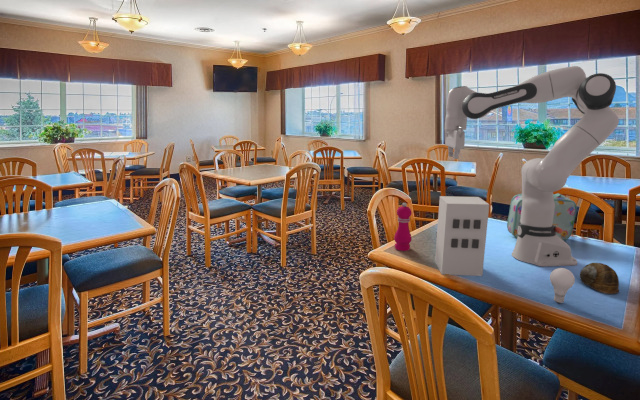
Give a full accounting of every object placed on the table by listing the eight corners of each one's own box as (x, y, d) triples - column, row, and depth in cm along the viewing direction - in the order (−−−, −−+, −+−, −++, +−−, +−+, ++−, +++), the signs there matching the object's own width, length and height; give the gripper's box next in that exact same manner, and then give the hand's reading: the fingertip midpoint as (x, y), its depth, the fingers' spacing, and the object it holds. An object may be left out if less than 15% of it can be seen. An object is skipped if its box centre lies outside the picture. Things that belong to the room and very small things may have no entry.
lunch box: (563, 235, 181) (569, 191, 176) (575, 243, 171) (582, 195, 166) (504, 234, 183) (509, 190, 178) (512, 241, 173) (518, 194, 168)
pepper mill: (411, 252, 160) (413, 205, 155) (393, 250, 161) (395, 204, 156) (410, 246, 166) (413, 201, 162) (393, 245, 168) (395, 200, 163)
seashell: (571, 281, 132) (575, 259, 130) (595, 279, 134) (598, 257, 132) (600, 296, 121) (604, 272, 119) (625, 293, 123) (630, 270, 121)
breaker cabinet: (472, 263, 148) (478, 196, 142) (482, 276, 135) (490, 205, 130) (435, 261, 149) (439, 196, 143) (442, 275, 137) (447, 204, 131)
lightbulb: (567, 299, 119) (573, 266, 116) (573, 309, 113) (579, 274, 111) (544, 296, 121) (549, 263, 118) (548, 305, 115) (553, 271, 113)
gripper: (469, 126, 155) (467, 160, 159) (457, 125, 175) (455, 155, 178) (453, 126, 156) (451, 160, 159) (443, 124, 176) (441, 155, 179)
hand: (453, 157), depth 169 cm, fingers open, 8 cm apart
